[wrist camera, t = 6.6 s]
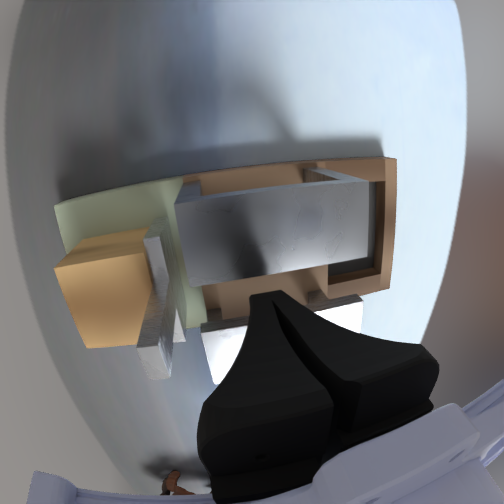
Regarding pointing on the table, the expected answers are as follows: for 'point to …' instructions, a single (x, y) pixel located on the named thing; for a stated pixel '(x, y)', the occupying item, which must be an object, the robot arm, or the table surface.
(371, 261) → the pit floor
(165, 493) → the brown headphones
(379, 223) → the board
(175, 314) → the paddle
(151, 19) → the table surface
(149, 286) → the block
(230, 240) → the tunnel
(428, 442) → the robot arm
